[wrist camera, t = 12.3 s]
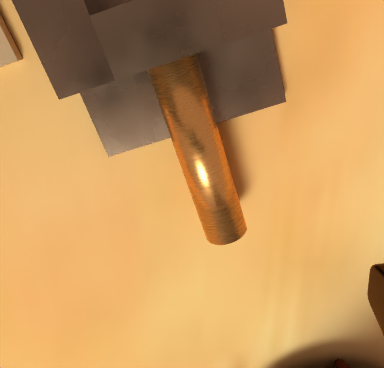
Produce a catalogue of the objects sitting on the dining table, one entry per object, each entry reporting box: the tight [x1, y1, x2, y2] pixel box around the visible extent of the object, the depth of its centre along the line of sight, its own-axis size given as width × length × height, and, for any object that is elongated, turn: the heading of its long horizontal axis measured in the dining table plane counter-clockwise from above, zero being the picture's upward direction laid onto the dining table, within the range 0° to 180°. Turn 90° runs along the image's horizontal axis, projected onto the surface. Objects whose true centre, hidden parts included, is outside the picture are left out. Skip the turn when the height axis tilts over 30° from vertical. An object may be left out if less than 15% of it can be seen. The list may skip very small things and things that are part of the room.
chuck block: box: [12, 0, 287, 245], centre depth 17 cm, size 20×10×4 cm, turn 17°
